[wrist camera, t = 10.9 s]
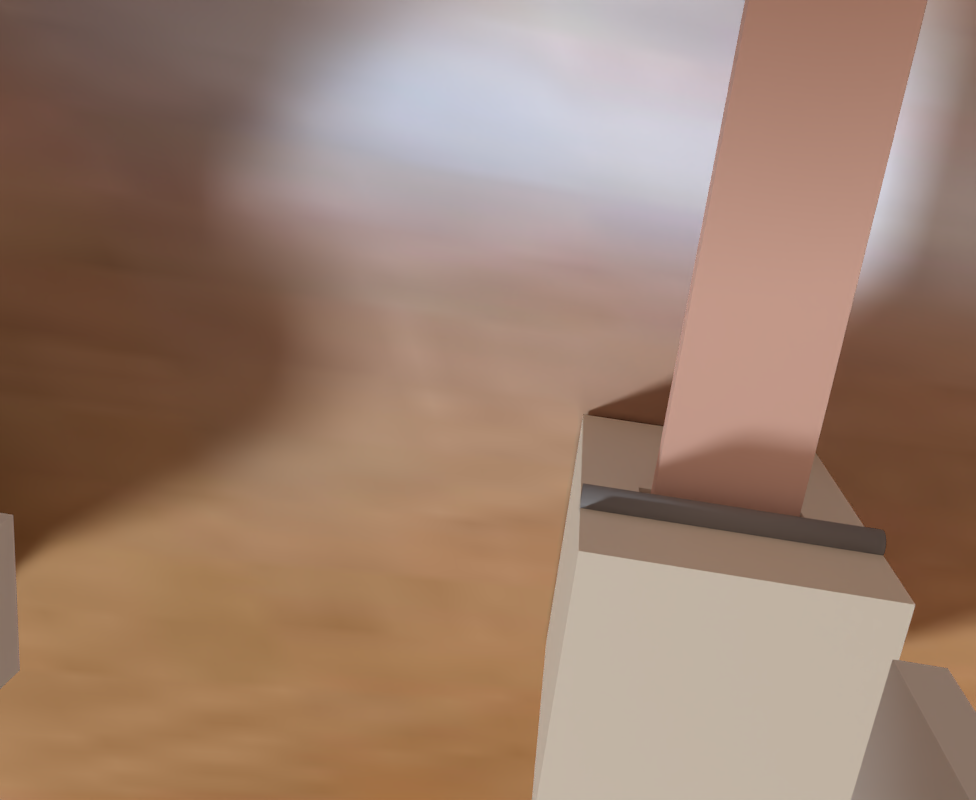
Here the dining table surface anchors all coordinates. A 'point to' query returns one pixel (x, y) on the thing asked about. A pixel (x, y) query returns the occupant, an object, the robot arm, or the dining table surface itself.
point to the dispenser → (710, 639)
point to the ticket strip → (783, 245)
